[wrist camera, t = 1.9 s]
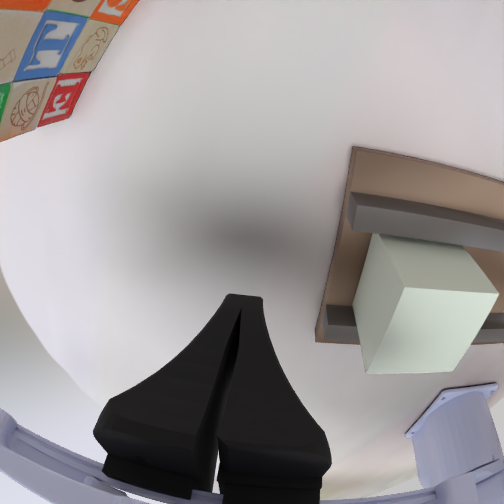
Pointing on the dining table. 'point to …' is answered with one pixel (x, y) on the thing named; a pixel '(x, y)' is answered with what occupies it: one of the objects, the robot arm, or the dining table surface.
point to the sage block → (419, 305)
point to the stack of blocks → (50, 56)
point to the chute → (412, 229)
